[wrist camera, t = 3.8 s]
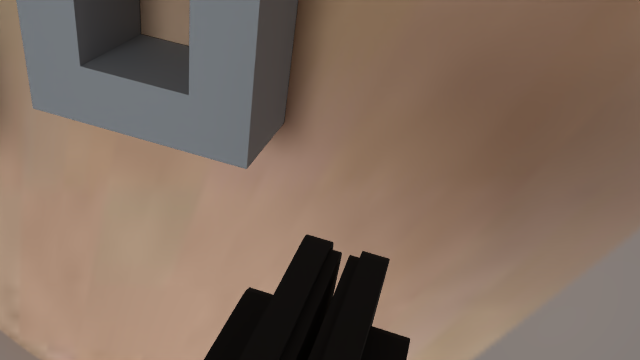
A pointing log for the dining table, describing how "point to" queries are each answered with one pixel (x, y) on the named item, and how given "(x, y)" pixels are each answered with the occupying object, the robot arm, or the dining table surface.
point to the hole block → (165, 72)
